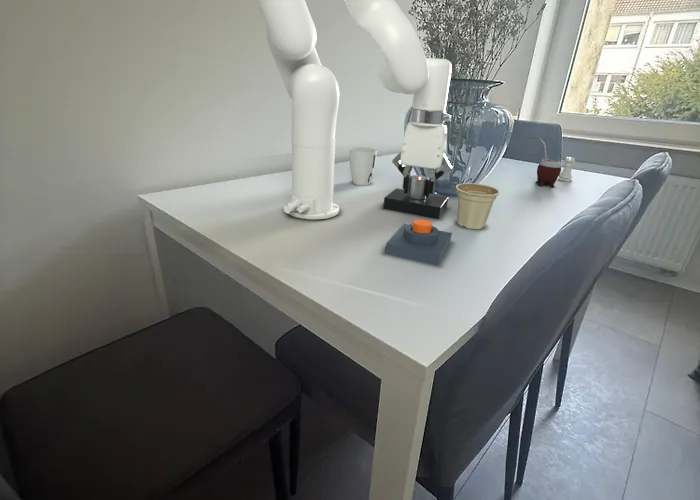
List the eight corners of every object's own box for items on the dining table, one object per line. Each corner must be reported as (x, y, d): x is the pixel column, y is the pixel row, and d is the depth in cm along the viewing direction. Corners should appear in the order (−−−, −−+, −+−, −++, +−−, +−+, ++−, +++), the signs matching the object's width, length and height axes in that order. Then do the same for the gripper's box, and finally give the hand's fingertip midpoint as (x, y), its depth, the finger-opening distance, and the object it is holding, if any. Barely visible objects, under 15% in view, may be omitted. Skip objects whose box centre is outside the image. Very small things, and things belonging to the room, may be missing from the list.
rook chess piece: (558, 178, 140) (564, 155, 137) (572, 180, 138) (578, 157, 135) (556, 180, 137) (562, 157, 134) (570, 182, 135) (577, 159, 131)
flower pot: (467, 234, 84) (474, 196, 81) (441, 219, 92) (447, 184, 89) (500, 230, 88) (509, 193, 84) (473, 216, 96) (479, 182, 92)
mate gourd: (560, 186, 129) (573, 140, 123) (547, 189, 125) (560, 141, 119) (539, 181, 135) (551, 136, 128) (526, 183, 130) (538, 137, 124)
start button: (428, 236, 73) (429, 227, 72) (409, 232, 74) (411, 223, 73) (432, 229, 76) (434, 221, 75) (414, 226, 77) (415, 218, 76)
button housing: (438, 266, 70) (441, 245, 68) (385, 253, 73) (387, 234, 71) (450, 242, 80) (453, 224, 78) (403, 233, 83) (405, 215, 81)
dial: (410, 193, 100) (413, 173, 98) (427, 196, 99) (430, 175, 97) (406, 197, 97) (408, 176, 94) (423, 200, 95) (426, 179, 93)
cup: (374, 187, 115) (377, 153, 111) (347, 185, 115) (349, 151, 111) (373, 180, 122) (376, 148, 118) (348, 178, 122) (349, 146, 118)
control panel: (446, 208, 101) (448, 196, 100) (438, 219, 92) (440, 207, 91) (395, 198, 106) (396, 188, 104) (383, 209, 97) (384, 197, 96)
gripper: (467, 120, 90) (454, 196, 98) (397, 113, 96) (390, 185, 103) (462, 123, 84) (448, 203, 91) (387, 115, 90) (380, 192, 97)
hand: (417, 193), depth 97 cm, fingers open, 4 cm apart
